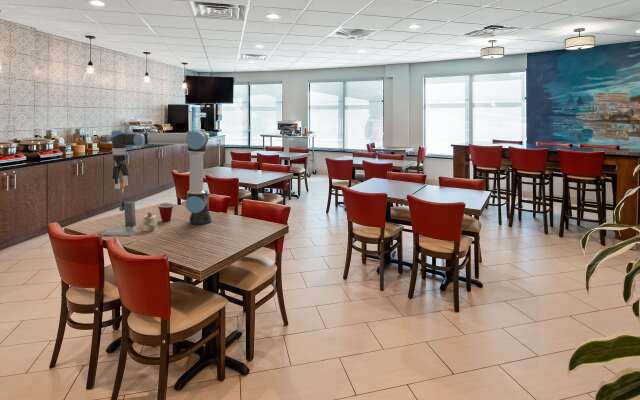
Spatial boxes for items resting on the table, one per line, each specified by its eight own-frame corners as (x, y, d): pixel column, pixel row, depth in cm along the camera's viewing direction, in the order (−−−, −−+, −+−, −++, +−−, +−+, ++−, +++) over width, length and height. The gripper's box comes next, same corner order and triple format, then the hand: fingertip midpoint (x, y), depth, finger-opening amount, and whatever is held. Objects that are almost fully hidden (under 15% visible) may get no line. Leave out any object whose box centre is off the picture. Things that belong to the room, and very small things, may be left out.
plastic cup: (169, 223, 283) (168, 206, 281) (155, 222, 285) (154, 205, 283) (177, 219, 293) (176, 203, 291) (164, 218, 296) (163, 202, 293)
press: (144, 224, 278) (142, 201, 275) (130, 235, 252) (128, 210, 249) (119, 224, 276) (118, 201, 273) (103, 235, 250) (101, 210, 247)
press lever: (127, 209, 274) (125, 182, 271) (124, 211, 270) (122, 183, 267) (120, 209, 274) (119, 182, 270) (118, 211, 270) (116, 183, 266)
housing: (157, 228, 270) (156, 211, 268) (154, 231, 263) (153, 213, 261) (146, 228, 270) (145, 211, 267) (143, 231, 263) (142, 213, 260)
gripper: (120, 152, 274) (123, 184, 278) (104, 156, 250) (107, 190, 254) (132, 153, 275) (134, 184, 279) (117, 156, 250) (120, 190, 254)
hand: (121, 187), depth 266 cm, fingers open, 13 cm apart
